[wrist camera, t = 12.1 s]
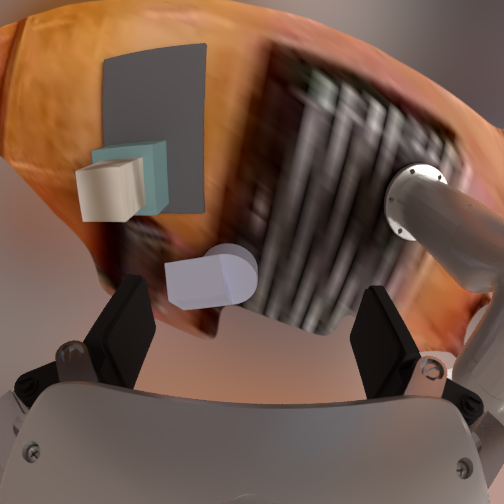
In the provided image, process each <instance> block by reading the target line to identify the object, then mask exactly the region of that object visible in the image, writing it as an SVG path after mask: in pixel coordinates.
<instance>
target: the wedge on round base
mask: <svg viewBox="0 0 504 504" xmlns="http://www.w3.org/2000/svg"><path fill="white" fill-rule="evenodd" d="M165 272H166V282H167V292H168V301H169V302H171V303H172V304H174V305H176V306H177V307H179V308H181V309H182V310H190V309H200V308H209V307H217V306H226V305H234V304H239V303H242V302H244V301H246V300H247V299H249V298H250V297H251V296H252V295H253V293H254V292H255V290H256V287H257V277H258V267H257V263H256V260H255V258H254V257H253V255H252V254H251V253H250V252H249V251H248V250H246V249H245V248H243V247H241V246H239V245H235V244H220V245H217V246H214V247H212V248H211V249H209V250H208V251H207V252H206V253H205V255H204V257H200V258H194V259H188V260H182V261H176V262H170V263H165Z"/></svg>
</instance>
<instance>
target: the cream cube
mask: <svg viewBox="0 0 504 504" xmlns="http://www.w3.org/2000/svg"><path fill="white" fill-rule="evenodd" d="M75 172H76V180H77V188H78V195H79V202H80V208H81V213H82V219H83V222H126V221H127V220H128V219H130V218H131V217H132V216H133V215H134V214H135V213H136V212H137V211H138V210H140V209H141V208H142V207H143V206H144V205H145V204H146V199H145V187H144V173H143V157H135V158H122V159H111V160H102V161H99V162H96V163H94V164H91V165H89V166H86V167H84V168H82V169H79V170H77V171H75Z"/></svg>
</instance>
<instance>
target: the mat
mask: <svg viewBox="0 0 504 504" xmlns="http://www.w3.org/2000/svg"><path fill="white" fill-rule="evenodd" d="M206 50H207V45H206V43H202V44H190V45H180V46H172V47H164V48H157V49H151V50H145V51H140V52H135V53H130V54H125V55H121V56H117V57H113V58H109V59H105V60H104V74H103V136H104V147H105V146H109V145H116V144H125V143H136V142H148V141H162V140H166V152H167V178H168V195H169V204H168V205H167V206H166V207H165V208H164V209H163V210H162V211H161V212H160V213H199V214H203V213H204V212H205V203H204V100H205V71H206Z"/></svg>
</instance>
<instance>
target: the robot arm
mask: <svg viewBox="0 0 504 504" xmlns="http://www.w3.org/2000/svg"><path fill="white" fill-rule="evenodd" d="M410 170H411V171H410ZM389 198H390V199H389ZM384 213H385V217H386V221H387V223H388V225H389V226H390V228H391V229H392V230H393V231H394V232H395V233H396V234H397V235H398V236H399V237H401V238H403V239H406V240H410V241H416V240H417V241H418V242H419V243H420V244H421V245H422V246H423V247H424V248H425V249H426V250H427V251H428V252H429V253H430V254H431V255H432V256H433V257H434V259H435V260H436V261H437V262H438V263H439V264H440V265H441V266H442V267H443V268H444V269H445V270H446V271H447V272H448V274H449V275H450V276H451V277H452V278H453V279H454V280H455V281H456V282H457V283H458V284H459V285H460V286H461V287H462V288H464V289H465V290H467V291H470V292H473V293H489V292H493V296H492V299H491V301H490V303H489V305H488V307H487V309H486V311H485V313H484V315H483V317H482V319H481V320H480V322H479V324H478V325H477V327H476V328H475V330H474V332H473V333H472V335H471V336H470V338H469V339H468V341H467V343H466V344H465V345H464V347H463V348H462V350H461V352H460V353H459V355H458V357H457V359H456V361H455V363H454V366H453V370H452V380H450V379H448V378H447V369H446V367H445V365H444V363H443V362H442V361H441V360H439V359H437V358H436V357H433V356H424V357H421V355H420V353H419V350H418V348H417V346H416V344H415V342H414V340H413V338H412V336H411V334H410V332H409V331H408V329H407V327H406V325H405V323H404V321H403V320H402V318H401V316H400V314H399V312H398V311H397V309H396V307H395V305H394V303H393V302H392V300H391V298H390V297H389V295H388V293H387V291H386V290H385V288H384V287H383V286H369V288H368V289H366V290H365V291H364V294H363V298H362V301H361V304H360V307H359V310H358V313H357V316H356V319H355V322H354V325H353V328H352V331H351V334H350V343H351V346H352V349H353V352H354V355H355V359H356V362H357V365H358V369H359V372H360V376H361V379H362V382H363V386H364V389H365V393H366V397H367V400H357V401H347V402H334V403H317V404H248V403H231V402H218V401H207V400H198V399H189V398H181V397H175V396H168V395H161V394H156V393H150V392H144V391H139V390H134V389H133V388H134V385H135V383H136V380H137V378H138V375H139V372H140V370H141V367H142V364H143V362H144V359H145V357H146V354H147V352H148V349H149V347H150V344H151V342H152V339H153V337H154V334H155V331H156V325H155V321H154V316H153V312H152V308H151V303H150V299H149V294H148V289H147V284H146V280H145V279H142V276H141V275H134V274H128V275H127V276H126V277H125V279H124V280H123V282H122V283H121V284H120V286H119V287H118V289H117V290H116V292H115V293H114V295H113V296H112V298H111V299H110V301H109V302H108V303H107V305H106V307H105V308H104V309H103V311H102V312H101V314H100V316H99V317H98V319H97V320H96V322H95V323H94V325H93V326H92V328H91V330H90V331H89V333H88V335H87V336H86V338H85V339H84V341H83V342H80V341H75V340H73V341H69V342H66V343H64V344H63V345H61V346H60V347H59V349H58V350H57V352H56V355H55V360H56V361H54V362H51V363H49V364H46V365H44V366H41V367H39V368H37V369H34V370H32V371H29V372H27V373H25V374H23V375H21V376H20V377H19V378H18V379H17V381H16V383H15V386H14V389H15V390H14V391H13V392H12V391H11V390H10V391H8V392H7V393H6V394H4V395H3V396H2V397H1V398H0V465H1V467H2V469H3V470H4V474H3V478H2V482H1V486H0V504H490V500H489V494H488V488H489V487H490V485H491V484H492V482H493V481H494V479H495V477H496V476H497V474H498V472H499V471H500V469H501V467H502V465H503V464H504V217H503V216H502V215H500V214H499V213H497V212H495V211H494V210H492V209H490V208H489V207H487V206H485V205H484V204H482V203H480V202H479V201H477V200H475V199H474V198H472V197H470V196H468V195H466V194H465V193H463V192H461V191H459V190H457V189H455V188H453V187H452V186H450V185H448V184H447V181H446V179H445V178H444V176H443V174H442V173H441V172H440V171H439V170H438V169H436V168H435V167H433V166H431V165H428V164H424V163H414V164H410V165H408V166H406V167H404V168H403V169H401V170H400V171H399V172H398V173H397V174H396V175H395V176H394V177H393V179H392V180H391V182H390V184H389V186H388V188H387V191H386V194H385V198H384Z"/></svg>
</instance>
